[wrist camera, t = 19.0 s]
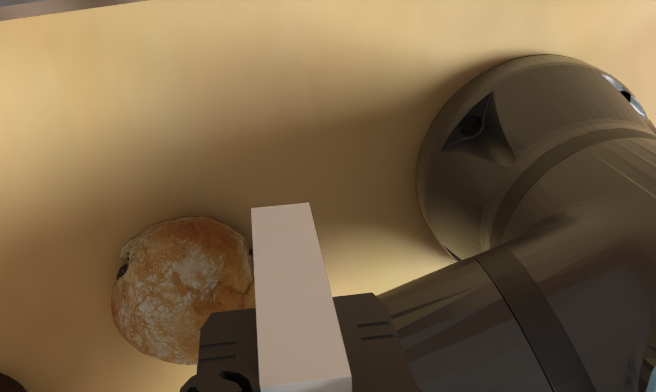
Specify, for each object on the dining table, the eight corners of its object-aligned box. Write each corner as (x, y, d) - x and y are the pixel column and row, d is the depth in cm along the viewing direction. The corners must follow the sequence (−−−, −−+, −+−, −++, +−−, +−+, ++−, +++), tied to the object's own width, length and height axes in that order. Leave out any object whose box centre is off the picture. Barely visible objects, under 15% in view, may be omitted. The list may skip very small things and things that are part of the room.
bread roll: (168, 178, 42) (95, 217, 35) (303, 237, 41) (257, 290, 33) (141, 295, 46) (70, 352, 39) (264, 353, 44) (214, 424, 37)
